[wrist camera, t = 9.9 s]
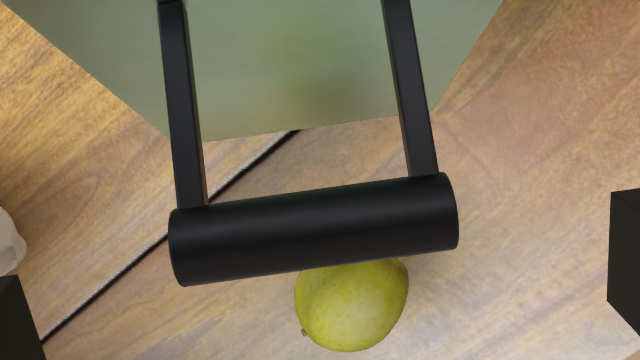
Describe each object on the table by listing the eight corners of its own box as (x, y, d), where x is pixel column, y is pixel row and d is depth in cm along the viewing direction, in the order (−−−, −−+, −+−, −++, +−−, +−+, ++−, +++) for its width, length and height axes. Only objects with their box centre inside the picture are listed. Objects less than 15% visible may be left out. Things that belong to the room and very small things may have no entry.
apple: (270, 285, 49) (267, 344, 41) (340, 199, 47) (350, 245, 39) (347, 334, 51) (358, 399, 43) (418, 253, 49) (442, 307, 41)
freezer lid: (-26, -50, 14) (-5, 312, 13) (561, -129, 14) (636, 223, 13) (175, 131, 33) (192, 287, 32) (430, 96, 33) (456, 250, 32)
